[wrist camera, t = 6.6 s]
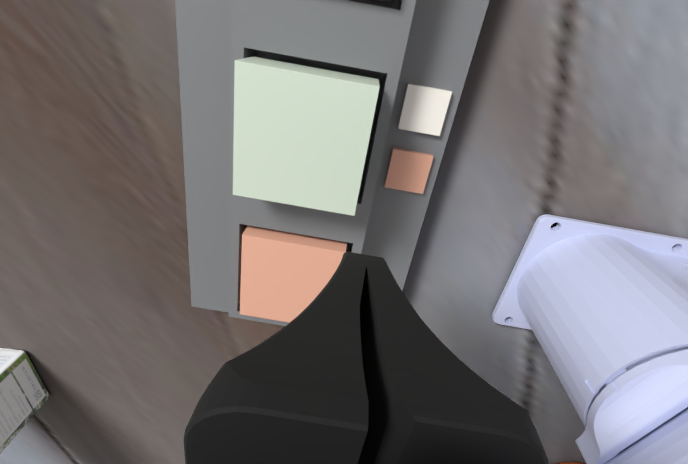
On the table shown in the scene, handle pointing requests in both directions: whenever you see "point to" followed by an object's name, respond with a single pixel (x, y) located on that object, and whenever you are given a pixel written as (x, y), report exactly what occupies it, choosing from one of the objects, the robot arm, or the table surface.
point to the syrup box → (18, 393)
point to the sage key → (301, 133)
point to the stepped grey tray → (386, 133)
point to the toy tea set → (570, 463)
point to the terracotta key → (284, 271)
